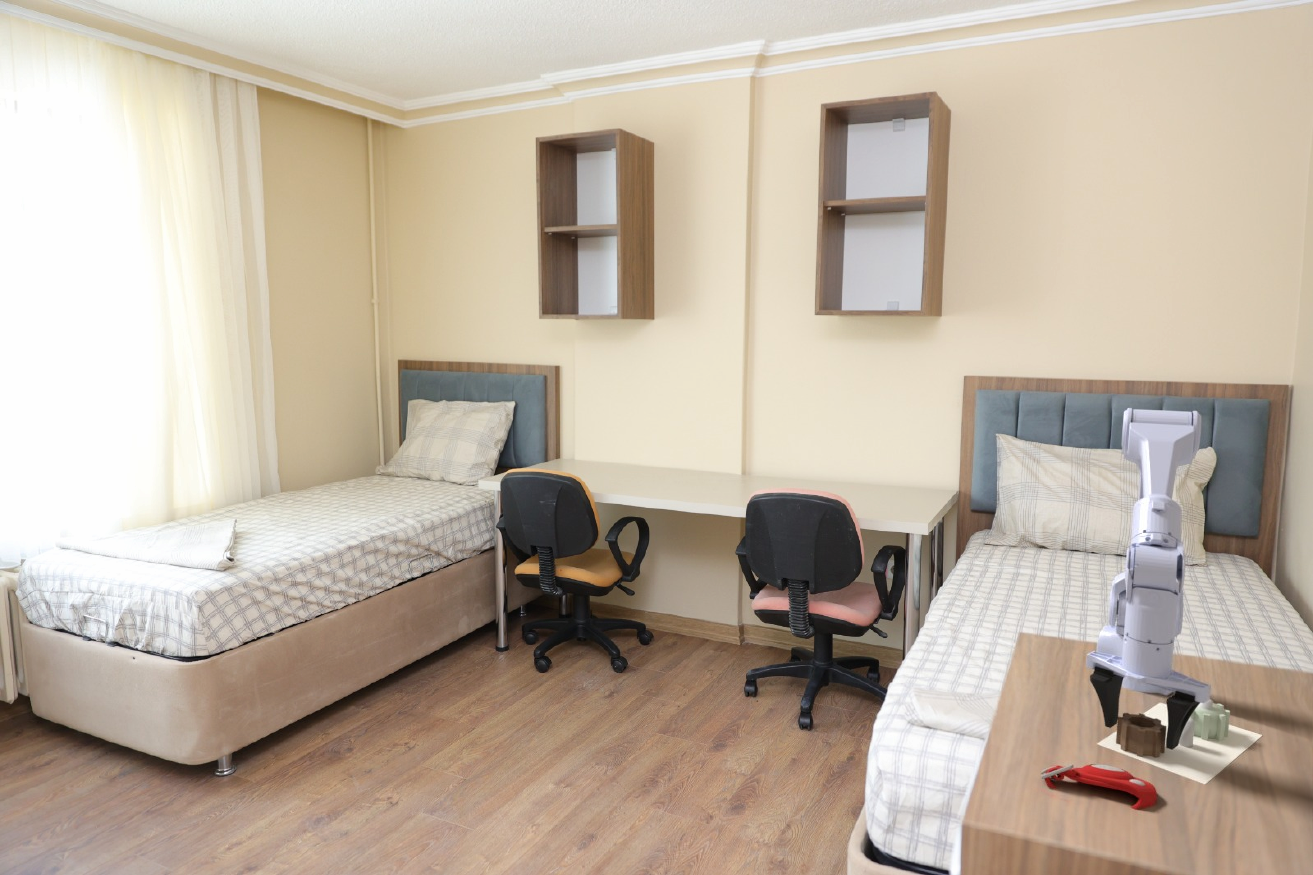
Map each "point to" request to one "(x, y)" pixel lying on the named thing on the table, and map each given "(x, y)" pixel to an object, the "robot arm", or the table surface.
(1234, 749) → the gear board
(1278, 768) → the table surface
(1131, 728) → the walnut gear
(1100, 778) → the red peeler
